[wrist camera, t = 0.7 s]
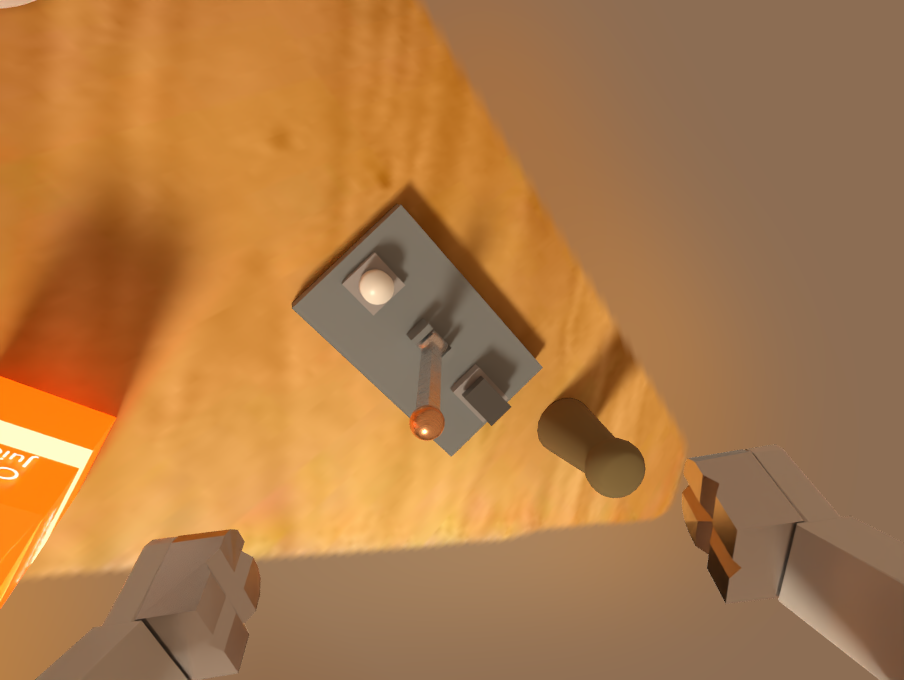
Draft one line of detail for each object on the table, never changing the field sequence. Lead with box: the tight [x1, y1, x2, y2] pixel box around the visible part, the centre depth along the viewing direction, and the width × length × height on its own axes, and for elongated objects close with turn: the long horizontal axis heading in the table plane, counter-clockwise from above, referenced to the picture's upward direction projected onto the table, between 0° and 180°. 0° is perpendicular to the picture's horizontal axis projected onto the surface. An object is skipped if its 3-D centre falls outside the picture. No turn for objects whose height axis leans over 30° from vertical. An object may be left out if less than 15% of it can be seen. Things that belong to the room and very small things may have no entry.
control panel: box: [292, 204, 543, 457], centre depth 47 cm, size 20×12×4 cm, turn 41°
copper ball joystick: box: [409, 329, 448, 441], centre depth 41 cm, size 2×2×13 cm
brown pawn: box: [537, 398, 645, 498], centre depth 51 cm, size 6×6×11 cm
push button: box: [359, 269, 394, 305], centre depth 43 cm, size 3×3×1 cm
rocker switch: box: [462, 376, 511, 426], centre depth 48 cm, size 4×2×1 cm, turn 42°
